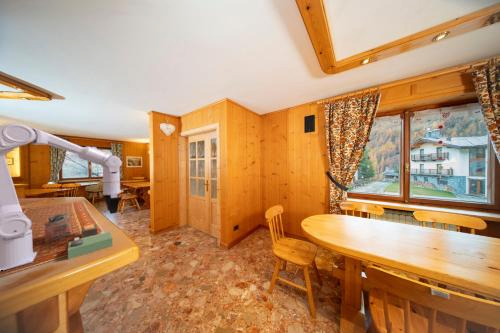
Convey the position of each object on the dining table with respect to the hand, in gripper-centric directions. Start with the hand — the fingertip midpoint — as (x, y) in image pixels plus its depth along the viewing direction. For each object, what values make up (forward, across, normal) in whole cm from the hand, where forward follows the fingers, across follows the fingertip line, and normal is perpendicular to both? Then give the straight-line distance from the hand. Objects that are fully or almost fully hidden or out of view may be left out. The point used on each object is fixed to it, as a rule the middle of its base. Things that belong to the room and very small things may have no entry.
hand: (112, 211), depth 70 cm
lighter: (+10, +12, +16) cm, 23 cm away
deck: (+10, -9, +7) cm, 15 cm away
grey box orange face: (+10, +3, +7) cm, 13 cm away
